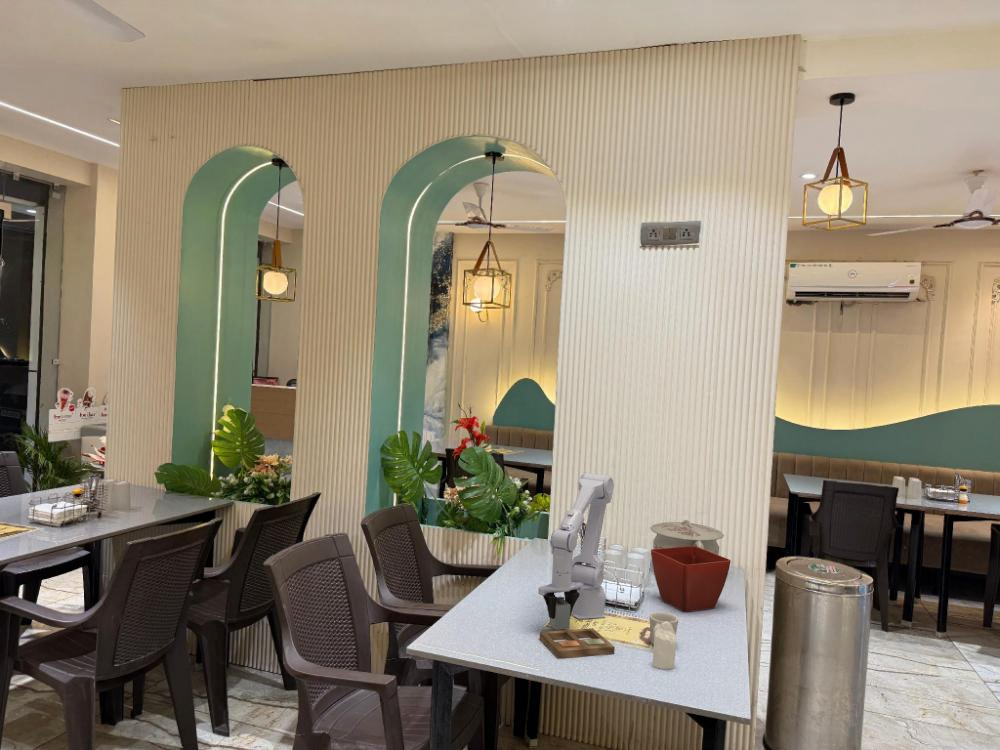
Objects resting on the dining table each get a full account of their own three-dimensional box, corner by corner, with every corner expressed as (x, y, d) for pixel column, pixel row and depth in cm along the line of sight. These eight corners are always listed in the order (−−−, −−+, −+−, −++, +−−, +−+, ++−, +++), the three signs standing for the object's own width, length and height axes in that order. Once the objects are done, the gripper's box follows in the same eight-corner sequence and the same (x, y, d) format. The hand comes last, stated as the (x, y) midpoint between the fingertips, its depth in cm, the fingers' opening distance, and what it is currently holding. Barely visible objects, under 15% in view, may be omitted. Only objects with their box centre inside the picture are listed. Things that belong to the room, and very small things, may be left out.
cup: (667, 655, 204) (669, 627, 204) (640, 648, 208) (641, 620, 208) (680, 644, 213) (682, 616, 213) (653, 637, 217) (655, 610, 217)
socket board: (592, 635, 217) (593, 626, 217) (614, 653, 203) (614, 644, 203) (539, 639, 212) (539, 630, 211) (558, 658, 198) (558, 649, 198)
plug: (563, 623, 222) (564, 594, 222) (569, 628, 218) (570, 599, 218) (549, 624, 221) (550, 595, 221) (555, 629, 216) (556, 600, 216)
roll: (669, 615, 201) (682, 623, 196) (666, 659, 201) (679, 668, 196) (650, 618, 198) (663, 625, 193) (648, 662, 199) (660, 671, 193)
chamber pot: (665, 559, 304) (667, 509, 304) (731, 574, 288) (734, 520, 288) (635, 574, 281) (638, 519, 281) (705, 590, 265) (708, 532, 265)
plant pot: (682, 617, 236) (685, 564, 236) (646, 598, 253) (649, 548, 253) (729, 611, 244) (732, 560, 243) (692, 593, 261) (694, 545, 261)
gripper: (575, 564, 226) (572, 609, 226) (533, 569, 219) (531, 615, 219) (588, 571, 220) (586, 616, 220) (546, 576, 213) (544, 623, 213)
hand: (559, 616), depth 219 cm, fingers closed on plug, 5 cm apart
